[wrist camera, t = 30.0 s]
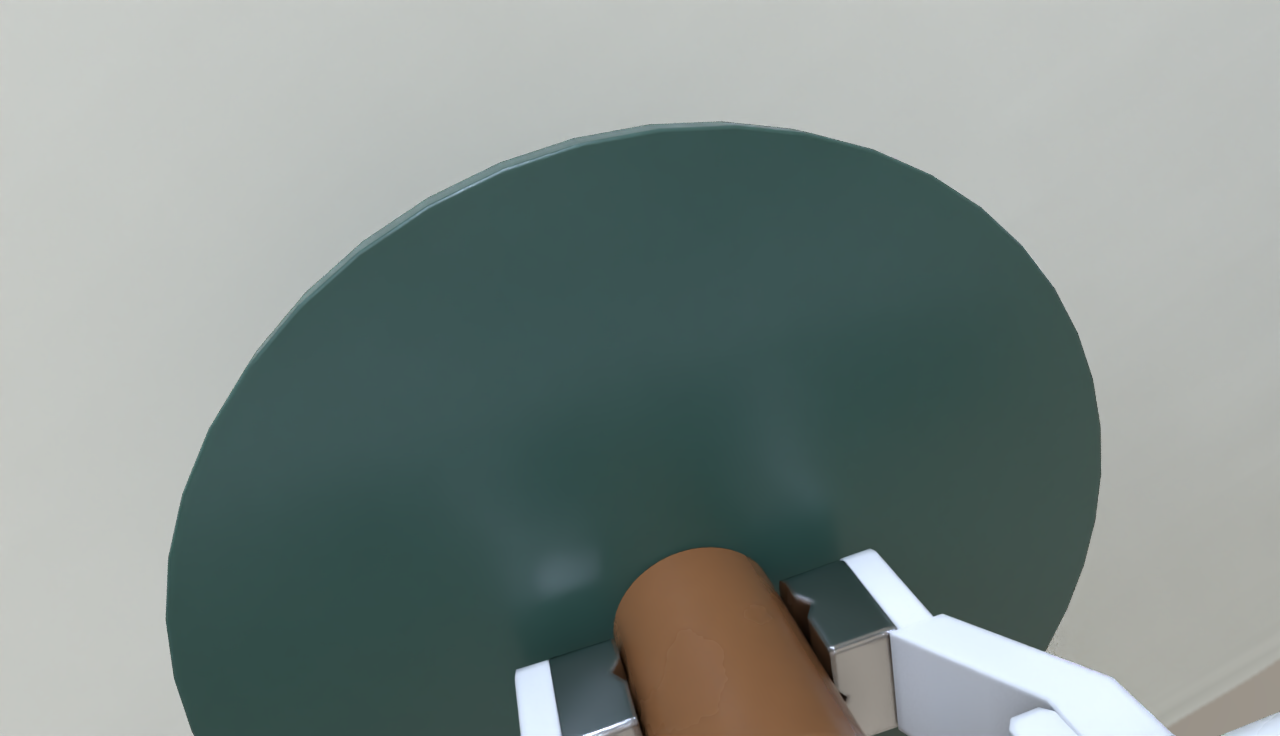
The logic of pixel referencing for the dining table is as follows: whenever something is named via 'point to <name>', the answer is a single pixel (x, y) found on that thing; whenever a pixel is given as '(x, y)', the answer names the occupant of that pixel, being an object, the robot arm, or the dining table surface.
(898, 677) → the robot arm
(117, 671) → the dining table surface
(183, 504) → the pot lid
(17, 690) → the dining table surface
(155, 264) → the dining table surface
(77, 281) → the dining table surface
